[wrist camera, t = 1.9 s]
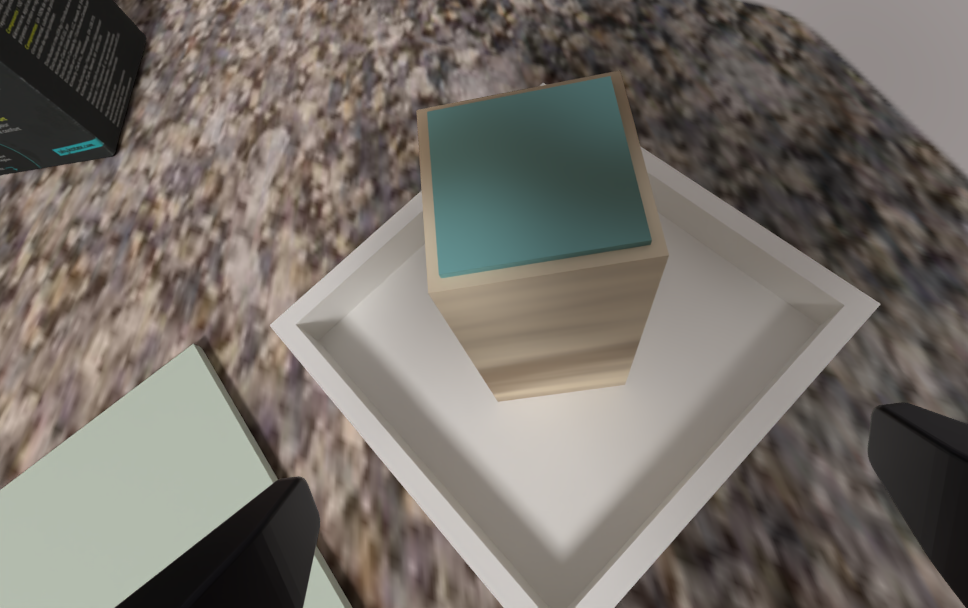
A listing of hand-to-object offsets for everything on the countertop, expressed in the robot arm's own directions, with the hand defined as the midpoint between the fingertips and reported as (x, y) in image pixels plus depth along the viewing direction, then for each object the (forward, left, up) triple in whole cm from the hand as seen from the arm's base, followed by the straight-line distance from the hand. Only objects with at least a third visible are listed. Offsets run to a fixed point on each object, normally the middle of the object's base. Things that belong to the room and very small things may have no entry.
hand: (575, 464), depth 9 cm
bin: (+5, -4, -12) cm, 14 cm away
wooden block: (+5, -4, -12) cm, 14 cm away
